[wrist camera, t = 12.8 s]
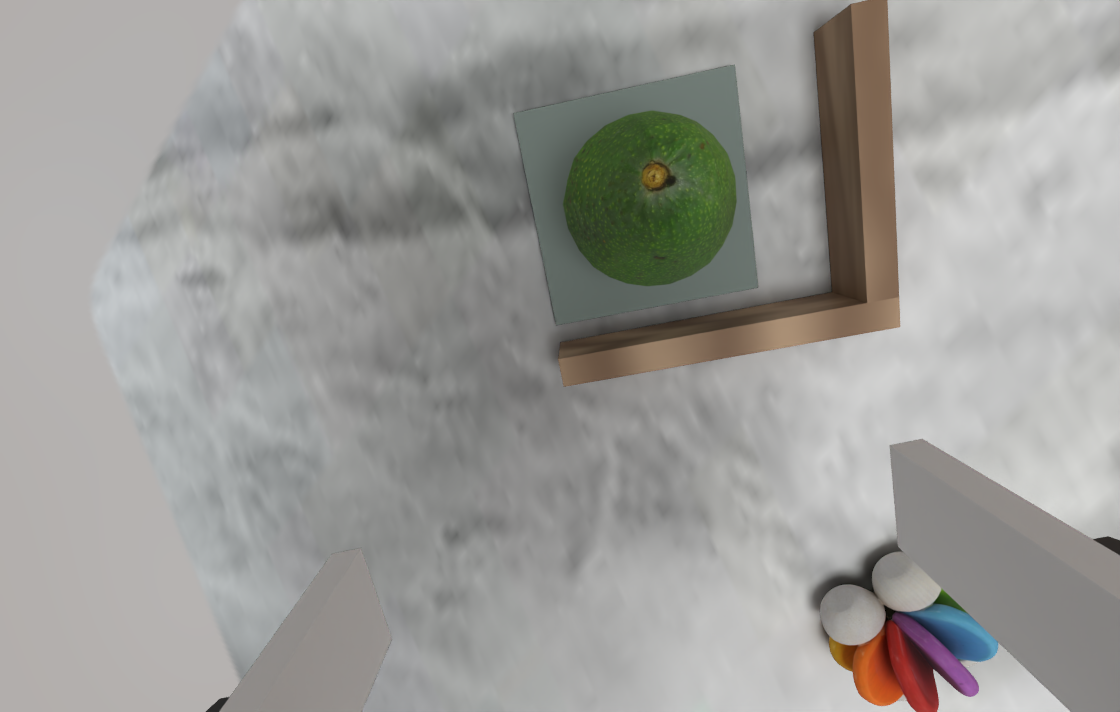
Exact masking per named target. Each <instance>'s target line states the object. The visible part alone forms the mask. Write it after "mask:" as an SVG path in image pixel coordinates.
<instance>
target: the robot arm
mask: <svg viewBox="0 0 1120 712" xmlns="http://www.w3.org/2000/svg"><path fill="white" fill-rule="evenodd" d="M890 456H891V468H892V480H893V492H894V504H895V516H896V528H897V540H898V547H899V548H900V549H901V550H902V551H903V552H904V553H905V554H906V555H907V556H908V557H910V558H911V559H912V560H913V561H914V562H915V563H916V564H917V565H918V566H919V567H920V568H921V569H922V570H923V571H924V572H925V573H926V574H927V575H928V576H929V577H930V578H931V579H933V580H934V581H935V582H936V583H937V584H938V585H939V586H940V587H941V588H942V589H943V590H944V591H945V592H946V593H947V594H948V595H949V596H950V597H951V598H952V599H953V600H955V601H956V602H957V603H958V604H959V605H960V606H961V607H962V608H963V609H964V610H965V611H966V612H967V613H968V614H969V615H970V616H971V617H972V618H973V619H974V620H975V621H976V622H978V623H979V624H980V625H981V626H982V627H983V628H984V629H985V630H986V631H987V632H988V633H989V634H990V635H991V636H992V637H993V638H994V639H995V640H996V641H997V642H998V643H1000V644H1001V645H1002V646H1003V647H1004V648H1005V649H1006V650H1007V651H1008V652H1009V653H1010V654H1011V655H1012V656H1013V657H1014V658H1015V659H1016V660H1017V661H1018V662H1019V663H1020V664H1021V665H1023V666H1024V667H1025V668H1026V669H1027V670H1028V671H1029V672H1030V673H1031V674H1032V675H1033V676H1034V677H1035V678H1036V679H1037V680H1038V681H1039V682H1040V683H1041V684H1042V685H1043V686H1044V687H1046V688H1047V689H1048V690H1049V691H1050V692H1051V693H1052V694H1053V695H1054V696H1055V697H1056V698H1057V699H1058V700H1059V701H1060V702H1061V703H1062V704H1063V705H1064V706H1065V707H1066V708H1068V709H1069V710H1070V711H1071V712H1120V540H1117V539H1114V538H1111V537H1102V538H1097V539H1091V538H1089V537H1088V536H1086V535H1084V534H1083V533H1081V532H1079V531H1078V530H1076V529H1074V528H1072V527H1071V526H1069V525H1067V524H1066V523H1064V522H1062V521H1061V520H1059V519H1057V518H1056V517H1054V516H1052V515H1050V514H1049V513H1047V512H1045V511H1044V510H1042V509H1040V508H1039V507H1037V506H1035V505H1034V504H1032V503H1030V502H1028V501H1027V500H1025V499H1023V498H1022V497H1020V496H1018V495H1017V494H1015V493H1013V492H1011V491H1010V490H1008V489H1006V488H1005V487H1003V486H1001V485H1000V484H998V483H996V482H995V481H993V480H991V479H989V478H988V477H986V476H984V475H983V474H981V473H979V472H978V471H976V470H974V469H972V468H971V467H969V466H967V465H966V464H964V463H962V462H961V461H959V460H957V459H956V458H954V457H952V456H950V455H949V454H947V453H945V452H944V451H942V450H940V449H939V448H937V447H935V446H934V445H932V444H930V443H928V442H927V441H925V440H923V439H920V440H914V441H909V442H904V443H899V444H894V445H890ZM391 641H392V638H391V635H390V632H389V629H388V626H387V623H386V620H385V617H384V614H383V611H382V608H381V605H380V602H379V599H378V597H377V594H376V591H375V588H374V585H373V582H372V579H371V576H370V573H369V570H368V567H367V564H366V561H365V558H364V556H363V553H362V550H361V548H359V549H354V550H348V551H343V552H338V553H333V554H331V556H330V557H329V558H328V560H327V561H326V563H325V564H324V566H323V567H322V568H321V570H320V571H319V573H318V574H317V575H316V577H315V578H314V580H313V581H312V582H311V584H310V585H309V587H308V588H307V589H306V591H305V592H304V594H303V595H302V596H301V598H300V599H299V601H298V602H297V603H296V605H295V606H294V608H293V609H292V610H291V612H290V613H289V615H288V616H287V617H286V619H285V620H284V622H283V623H282V624H281V626H280V627H279V629H278V630H277V631H276V633H275V634H274V636H273V637H272V638H271V640H270V641H269V643H268V644H267V645H266V647H265V648H264V650H263V651H262V652H261V654H260V655H259V657H258V658H257V659H256V661H255V662H254V664H253V665H252V666H251V668H250V669H249V671H248V672H247V673H246V675H245V676H244V678H243V679H242V680H241V682H240V683H239V685H238V686H237V688H236V689H235V690H234V692H233V693H232V694H231V696H230V697H226V698H221V699H219V700H218V701H217V702H216V703H215V704H214V705H212V706H211V707H210V708H209V709H208V710H207V711H206V712H362V710H363V708H364V705H365V703H366V701H367V698H368V696H369V693H370V691H371V689H372V686H373V684H374V681H375V679H376V677H377V674H378V672H379V670H380V667H381V665H382V662H383V660H384V658H385V655H386V653H387V650H388V648H389V646H390V643H391Z"/></svg>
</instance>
